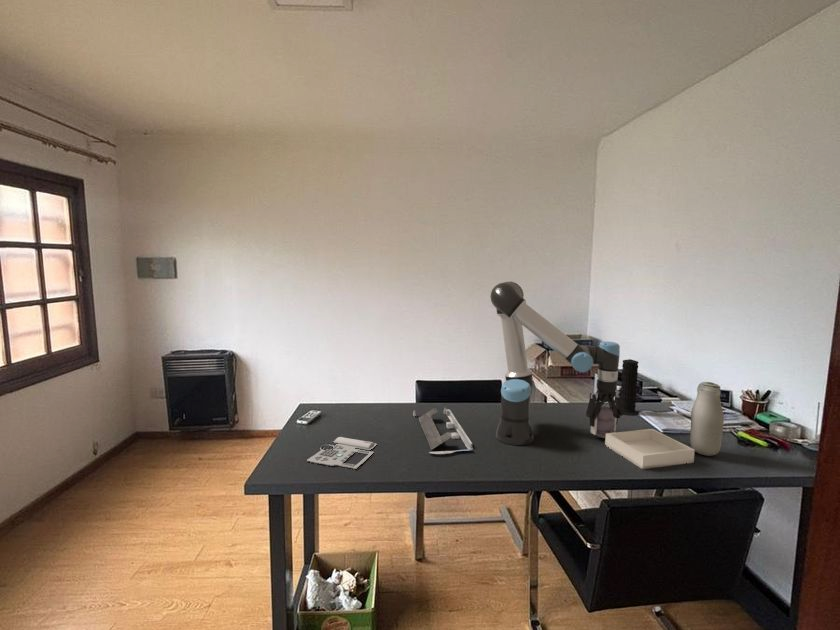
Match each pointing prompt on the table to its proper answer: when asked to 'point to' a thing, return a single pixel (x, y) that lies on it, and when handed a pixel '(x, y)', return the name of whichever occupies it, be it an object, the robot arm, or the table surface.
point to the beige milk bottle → (707, 420)
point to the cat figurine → (604, 421)
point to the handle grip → (629, 387)
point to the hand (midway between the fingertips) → (602, 432)
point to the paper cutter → (436, 439)
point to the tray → (649, 448)
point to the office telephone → (343, 452)
